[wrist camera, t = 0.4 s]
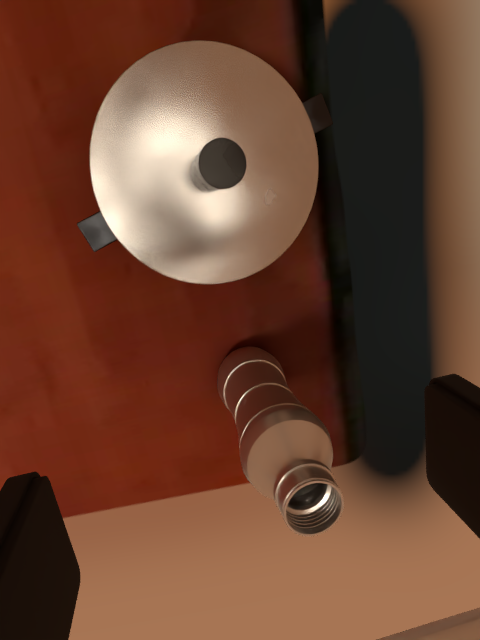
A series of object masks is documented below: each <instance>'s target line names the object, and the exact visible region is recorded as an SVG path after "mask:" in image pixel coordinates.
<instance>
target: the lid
mask: <svg viewBox="0 0 480 640" xmlns="http://www.w3.org/2000/svg"><path fill="white" fill-rule="evenodd" d="M89 167H90V176H91V183H92V187H93V191H94V195H95V198H96V201H97V204H98V206H99V209H100V212H101V214H102V216H103V217H104V219H105V221H106V223H107V225H108V227H109V228H110V230H111V231H112V233H113V234H114V235H115V237H116V238H117V240H118V241H119V242H120V243H121V244H122V245H123V246H124V247H125V248H126V250H127V251H128V252H130V253H131V254H132V255H133V256H134V257H135V258H136V259H138V260H139V261H140V262H142V263H143V264H145V265H146V266H148V267H149V268H151V269H152V270H154V271H156V272H158V273H160V274H162V275H164V276H167V277H170V278H173V279H176V280H179V281H184V282H188V283H194V284H221V283H227V282H232V281H236V280H239V279H242V278H245V277H248V276H250V275H252V274H254V273H257V272H259V271H260V270H262V269H264V268H265V267H267V266H268V265H270V264H271V263H272V262H274V261H275V260H276V259H277V258H278V257H280V256H281V255H282V254H283V253H284V252H285V251H286V250H287V249H288V248H289V246H290V245H291V244H292V243H293V241H294V240H295V239H296V237H297V236H298V235H299V233H300V231H301V230H302V228H303V226H304V224H305V222H306V220H307V218H308V216H309V213H310V211H311V208H312V205H313V201H314V198H315V194H316V188H317V182H318V152H317V145H316V140H315V135H314V131H313V128H312V125H311V122H310V119H309V117H308V115H307V112H306V110H305V108H304V106H303V104H302V102H301V101H300V99H299V98H298V96H297V94H296V93H295V91H294V90H293V89H292V87H291V86H290V85H289V84H288V82H287V81H286V80H285V79H284V78H283V77H282V76H281V75H280V74H279V73H278V72H277V71H276V70H275V69H274V68H273V67H272V66H270V65H269V64H267V63H266V62H264V61H263V60H262V59H260V58H259V57H257V56H255V55H253V54H251V53H249V52H248V51H246V50H243V49H241V48H238V47H235V46H232V45H229V44H225V43H220V42H215V41H198V40H196V41H187V42H179V43H175V44H172V45H168V46H164V47H162V48H160V49H157V50H155V51H153V52H150V53H149V54H147V55H146V56H144V57H142V58H141V59H139V60H138V61H136V62H135V63H134V64H133V65H131V66H130V67H129V68H128V69H127V70H126V71H124V72H123V74H122V75H121V76H120V77H119V78H118V79H117V81H116V82H115V83H114V84H113V85H112V87H111V88H110V90H109V92H108V93H107V95H106V96H105V98H104V100H103V102H102V104H101V106H100V108H99V111H98V113H97V116H96V119H95V122H94V126H93V129H92V134H91V141H90V150H89Z"/></svg>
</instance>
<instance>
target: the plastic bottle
mask: <svg viewBox="0 0 480 640" xmlns="http://www.w3.org/2000/svg"><path fill="white" fill-rule="evenodd" d="M217 388H218V392H219V396H220V398H221V399H222V401H223V403H224V404H225V406H226V407H227V408H228V410H229V411H230V412H231V414H232V416H233V417H234V419H235V422H236V427H237V431H238V435H239V448H240V459H241V465H242V468H243V472H244V474H245V476H246V478H247V479H248V481H249V482H250V483H251V484H252V485H253V486H254V487H255V488H256V489H257V491H258V492H260V493H261V494H263V495H264V496H266V497H268V498H271V499H273V500H275V503H276V505H277V507H278V509H279V511H280V512H281V514H282V516H283V519H284V521H285V523H286V525H287V526H288V527H289V528H290V530H291V531H293V532H294V533H296V534H299V535H302V536H315V535H319V534H322V533H324V532H326V531H327V530H329V529H330V528H332V527H333V526H334V525H335V524H336V523H337V521H338V519H339V518H340V517H341V514H342V511H343V507H344V500H343V496H342V493H341V491H340V489H339V487H338V485H337V484H336V481H335V478H334V476H333V474H332V472H331V471H330V470H331V465H332V460H333V449H332V444H331V439H330V435H329V433H328V431H327V428H326V427H325V426H324V424H323V423H322V422H321V421H320V420H319V418H318V417H317V416H316V415H315V414H313V413H312V412H311V411H310V410H309V409H308V408H306V407H305V406H304V405H303V404H302V403H300V402H299V401H298V399H297V398H296V397H295V396H294V395H293V393H292V392H291V391H290V389H289V387H288V385H287V383H286V379H285V375H284V372H283V370H282V367H281V365H280V363H279V362H278V361H277V359H276V358H275V357H274V356H272V355H271V354H270V353H268V352H267V351H265V350H263V349H261V348H258V347H251V346H248V347H242V348H239V349H236V350H235V351H233V352H231V353H230V354H229V355H228V356H227V357H226V358H225V359H224V360H223V362H222V364H221V365H220V368H219V371H218V379H217Z"/></svg>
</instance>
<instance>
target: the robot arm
mask: <svg viewBox="0 0 480 640" xmlns="http://www.w3.org/2000/svg"><path fill="white" fill-rule="evenodd" d="M425 431H426V472H427V478H428V481H429V484H430V485H431V487H432V488H433V489H434V491H435V492H436V493H437V494H438V495H439V496H440V497H441V498H442V499H443V500H444V501H445V502H446V503H447V504H448V505H449V506H450V508H451V509H452V510H453V511H454V512H455V513H456V514H457V515H458V516H459V517H460V518H461V519H462V520H463V521H464V522H465V523H466V524H467V525H468V527H469V528H470V529H471V530H472V531H473V532H474V533H475V534H476V535H477V536H478V537H479V538H480V388H479V387H477V386H476V385H474V384H472V383H471V382H469V381H467V380H465V379H464V378H462V377H460V376H459V375H456V374H450V375H446V376H442V377H438V378H433V379H432V380H431V381H430V383H429V386H427V387H426V388H425ZM79 586H80V569H79V565H78V562H77V559H76V556H75V553H74V551H73V548H72V545H71V542H70V539H69V536H68V533H67V530H66V528H65V525H64V521H63V518H62V515H61V513H60V510H59V507H58V504H57V501H56V498H55V495H54V492H53V489H52V486H51V483H50V481H49V479H48V477H47V476H43V477H40V475H39V474H38V473H37V472H31V473H27V474H23V475H19V476H14V477H10V478H8V479H7V480H6V482H5V484H4V485H3V487H2V489H1V491H0V640H68V638H69V633H70V629H71V624H72V619H73V614H74V609H75V605H76V600H77V595H78V591H79ZM378 640H480V608H477V609H474V610H471V611H467V612H464V613H461V614H458V615H455V616H451V617H448V618H445V619H442V620H438V621H435V622H432V623H428V624H425V625H422V626H419V627H416V628H412V629H409V630H406V631H403V632H400V633H397V634H394V635H390V636H387V637H384V638H381V639H378Z"/></svg>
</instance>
